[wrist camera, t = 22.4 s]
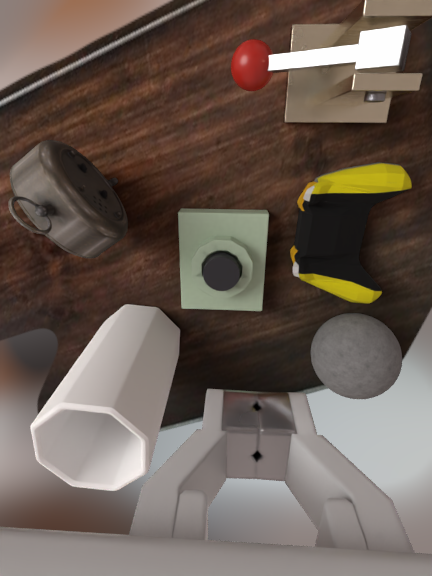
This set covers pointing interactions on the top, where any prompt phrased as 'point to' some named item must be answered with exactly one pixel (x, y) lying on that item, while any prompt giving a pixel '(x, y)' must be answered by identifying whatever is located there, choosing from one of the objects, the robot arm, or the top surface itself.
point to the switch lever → (323, 57)
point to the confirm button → (221, 271)
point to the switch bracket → (350, 67)
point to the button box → (230, 239)
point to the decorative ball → (356, 356)
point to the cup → (110, 402)
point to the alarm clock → (68, 199)
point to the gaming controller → (342, 227)
